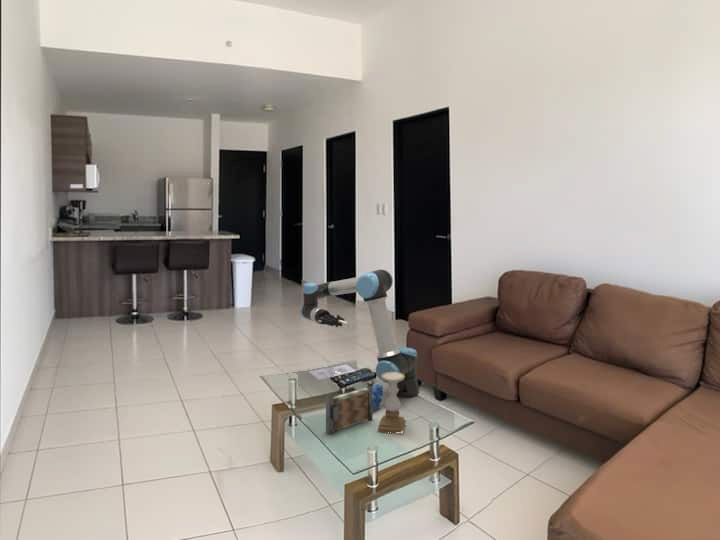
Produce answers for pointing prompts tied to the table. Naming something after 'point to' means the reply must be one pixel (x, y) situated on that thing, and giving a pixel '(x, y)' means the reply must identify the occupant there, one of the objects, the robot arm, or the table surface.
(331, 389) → the table surface
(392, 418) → the candle holder
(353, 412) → the gate
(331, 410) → the post
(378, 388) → the grapes
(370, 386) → the hinge post
